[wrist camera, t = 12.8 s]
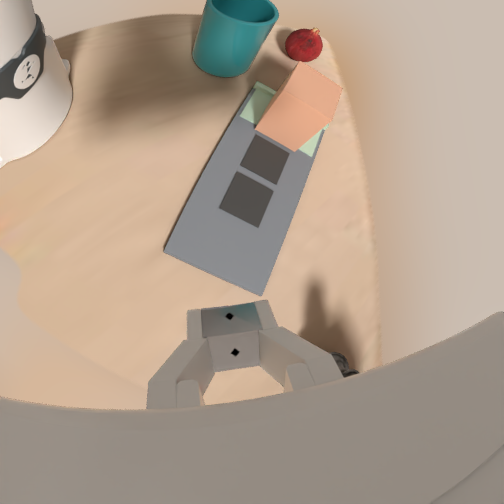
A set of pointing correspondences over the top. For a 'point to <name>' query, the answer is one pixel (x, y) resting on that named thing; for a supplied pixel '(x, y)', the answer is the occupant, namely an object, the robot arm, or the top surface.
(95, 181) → the top surface
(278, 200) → the track
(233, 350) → the robot arm
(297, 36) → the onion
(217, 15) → the cup
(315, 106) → the terracotta block
